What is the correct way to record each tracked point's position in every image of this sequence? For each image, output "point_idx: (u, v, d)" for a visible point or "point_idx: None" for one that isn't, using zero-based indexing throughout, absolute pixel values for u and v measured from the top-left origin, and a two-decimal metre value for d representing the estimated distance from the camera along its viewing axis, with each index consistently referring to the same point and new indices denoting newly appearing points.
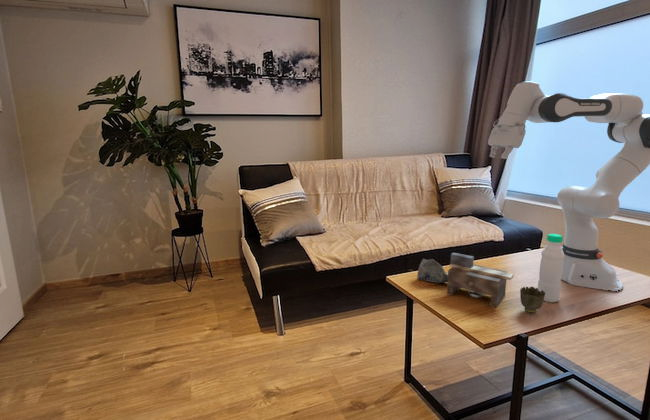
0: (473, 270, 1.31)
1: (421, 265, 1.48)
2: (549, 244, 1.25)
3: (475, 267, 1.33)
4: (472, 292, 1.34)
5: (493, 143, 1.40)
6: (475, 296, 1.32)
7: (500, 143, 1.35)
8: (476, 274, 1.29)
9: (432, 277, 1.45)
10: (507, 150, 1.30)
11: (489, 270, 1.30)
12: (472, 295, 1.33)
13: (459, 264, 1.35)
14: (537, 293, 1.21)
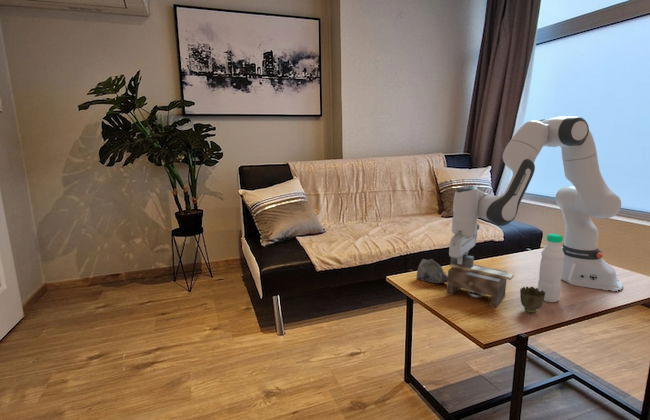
0: (473, 270, 1.31)
1: (420, 265, 1.48)
2: (549, 244, 1.25)
3: (475, 267, 1.33)
4: (472, 292, 1.34)
5: None
6: (475, 296, 1.32)
7: None
8: (476, 274, 1.29)
9: (432, 277, 1.45)
10: None
11: (489, 270, 1.30)
12: (472, 295, 1.33)
13: (459, 264, 1.35)
14: (537, 293, 1.21)
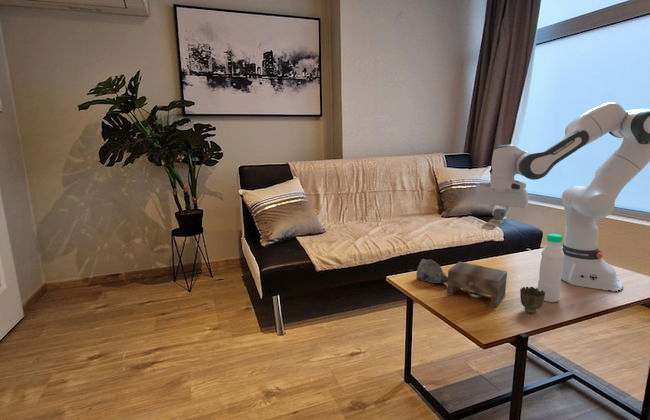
0: None
1: (420, 265, 1.48)
2: (549, 244, 1.25)
3: (497, 220, 1.44)
4: (472, 292, 1.34)
5: None
6: (475, 296, 1.32)
7: None
8: (476, 274, 1.29)
9: (431, 277, 1.44)
10: None
11: (493, 223, 1.40)
12: (472, 295, 1.33)
13: None
14: (537, 293, 1.21)
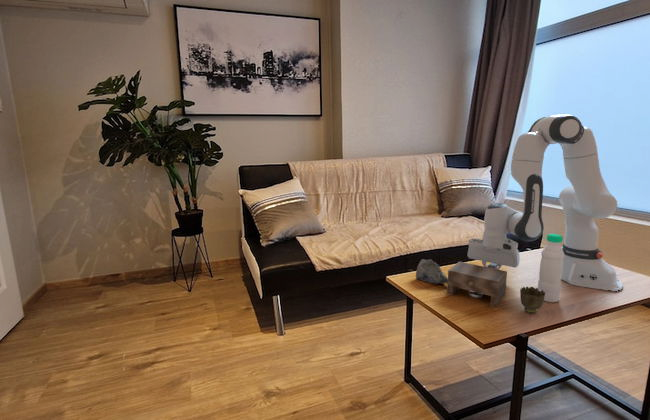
0: None
1: (419, 265, 1.48)
2: (549, 244, 1.25)
3: None
4: (472, 292, 1.34)
5: None
6: (475, 296, 1.32)
7: None
8: (476, 274, 1.29)
9: (430, 278, 1.44)
10: None
11: None
12: (472, 295, 1.33)
13: None
14: (537, 293, 1.21)
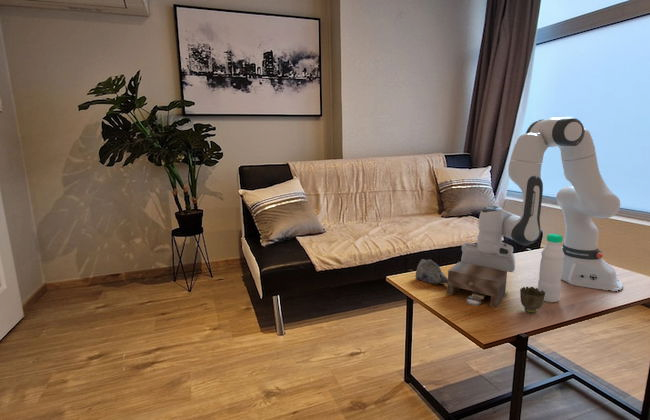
0: None
1: (419, 265, 1.48)
2: (549, 244, 1.25)
3: None
4: (470, 299, 1.28)
5: None
6: (472, 303, 1.26)
7: None
8: (476, 274, 1.29)
9: (430, 278, 1.44)
10: None
11: None
12: (469, 302, 1.27)
13: None
14: (537, 293, 1.21)
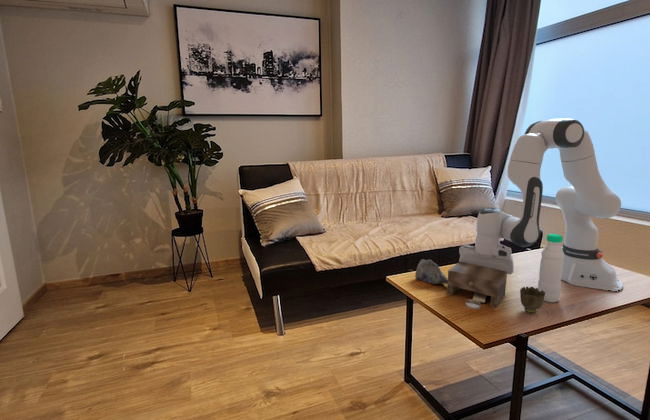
0: None
1: (419, 265, 1.48)
2: (549, 244, 1.25)
3: None
4: (469, 302, 1.26)
5: None
6: (471, 307, 1.24)
7: None
8: (476, 274, 1.29)
9: (429, 278, 1.44)
10: None
11: None
12: (468, 305, 1.25)
13: None
14: (537, 293, 1.21)
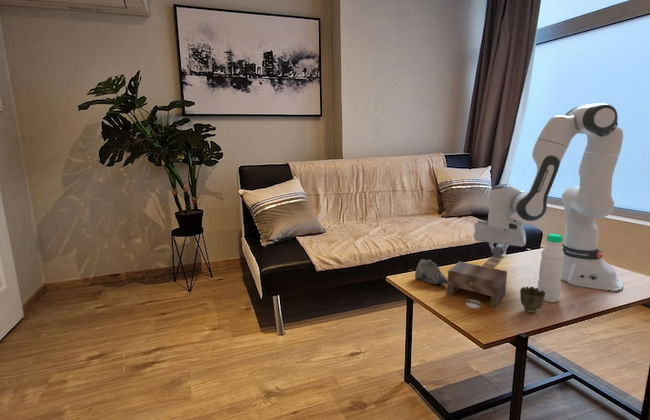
0: None
1: (419, 265, 1.48)
2: (549, 244, 1.25)
3: (496, 258, 1.47)
4: (469, 302, 1.26)
5: None
6: (471, 307, 1.24)
7: None
8: (476, 274, 1.29)
9: (429, 278, 1.44)
10: None
11: (493, 262, 1.44)
12: (468, 305, 1.25)
13: None
14: (537, 293, 1.21)
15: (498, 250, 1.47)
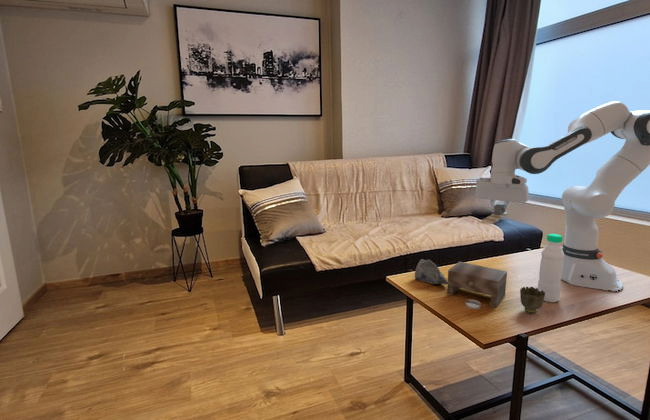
0: None
1: (418, 265, 1.48)
2: (549, 244, 1.25)
3: (497, 215, 1.44)
4: (469, 302, 1.26)
5: None
6: (471, 307, 1.24)
7: None
8: (476, 274, 1.29)
9: (428, 278, 1.44)
10: None
11: (494, 217, 1.40)
12: (468, 305, 1.25)
13: None
14: (537, 293, 1.21)
15: (499, 207, 1.43)
